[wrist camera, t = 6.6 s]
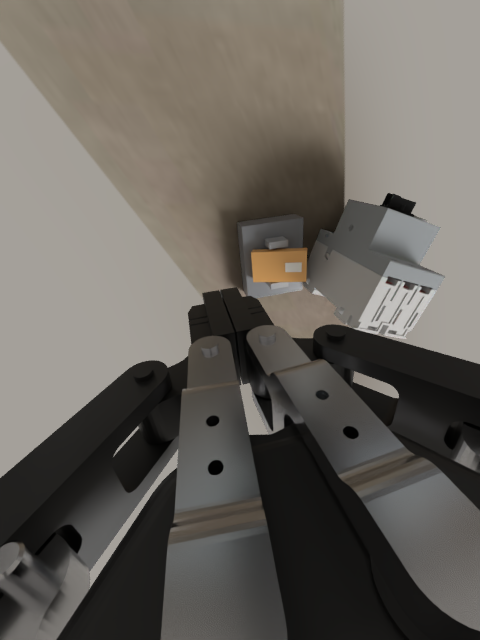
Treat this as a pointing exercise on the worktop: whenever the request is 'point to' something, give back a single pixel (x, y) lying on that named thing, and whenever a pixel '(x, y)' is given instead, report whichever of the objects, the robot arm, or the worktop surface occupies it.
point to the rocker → (279, 265)
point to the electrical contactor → (375, 266)
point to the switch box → (268, 236)
